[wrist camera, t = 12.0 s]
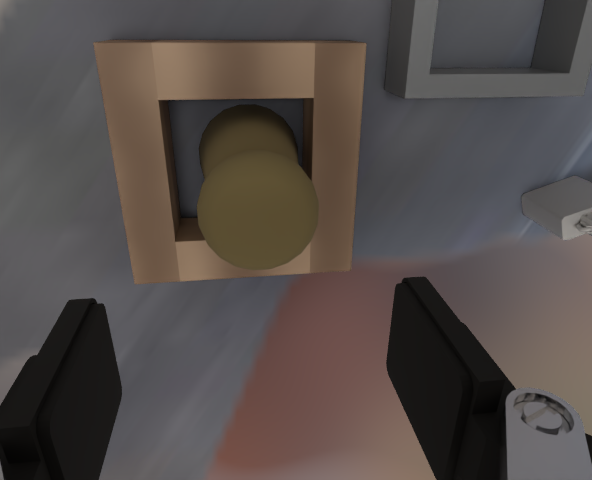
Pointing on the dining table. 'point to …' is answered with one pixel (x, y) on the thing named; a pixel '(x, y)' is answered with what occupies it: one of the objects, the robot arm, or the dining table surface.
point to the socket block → (228, 85)
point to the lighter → (561, 207)
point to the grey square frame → (490, 81)
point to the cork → (254, 190)
